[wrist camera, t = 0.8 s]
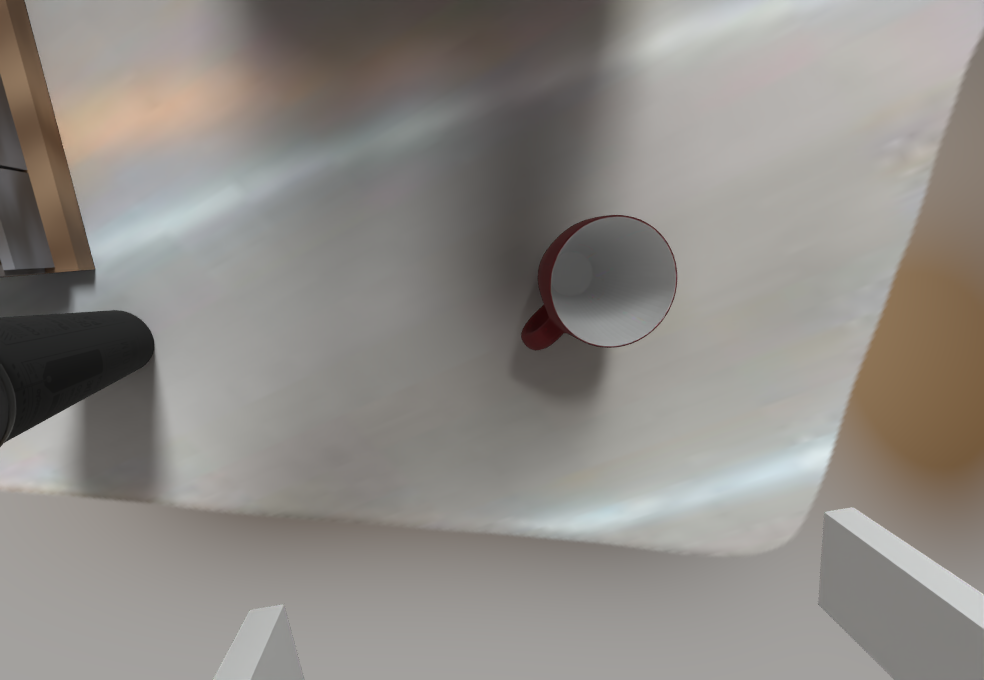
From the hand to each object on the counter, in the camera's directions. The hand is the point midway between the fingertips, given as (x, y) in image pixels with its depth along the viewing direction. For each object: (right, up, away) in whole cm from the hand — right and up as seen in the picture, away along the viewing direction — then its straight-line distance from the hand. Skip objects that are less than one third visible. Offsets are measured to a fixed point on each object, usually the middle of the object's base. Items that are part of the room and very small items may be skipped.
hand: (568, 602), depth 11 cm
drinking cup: (-30, +6, +24) cm, 39 cm away
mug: (+4, +11, +26) cm, 29 cm away
